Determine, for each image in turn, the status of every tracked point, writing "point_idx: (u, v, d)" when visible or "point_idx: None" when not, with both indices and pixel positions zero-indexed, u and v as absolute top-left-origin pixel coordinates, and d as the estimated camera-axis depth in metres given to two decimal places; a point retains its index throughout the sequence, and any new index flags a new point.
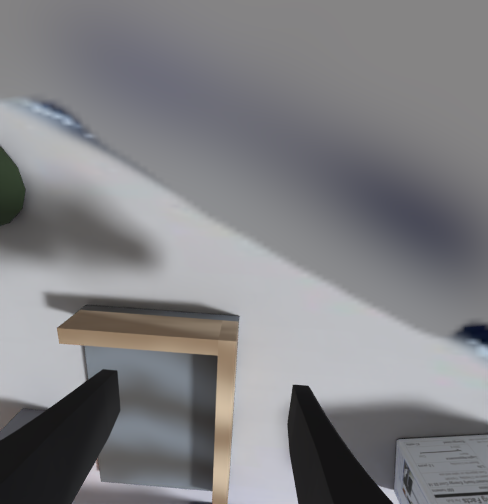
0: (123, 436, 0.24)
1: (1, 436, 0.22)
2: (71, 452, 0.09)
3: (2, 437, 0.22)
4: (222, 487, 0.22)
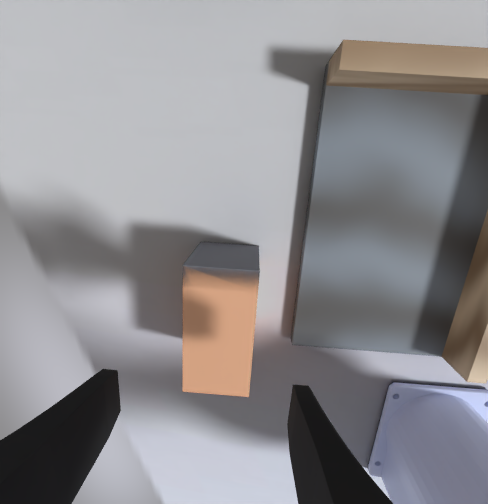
0: (339, 272, 0.18)
1: (200, 253, 0.17)
2: (71, 452, 0.09)
3: (202, 253, 0.16)
4: None
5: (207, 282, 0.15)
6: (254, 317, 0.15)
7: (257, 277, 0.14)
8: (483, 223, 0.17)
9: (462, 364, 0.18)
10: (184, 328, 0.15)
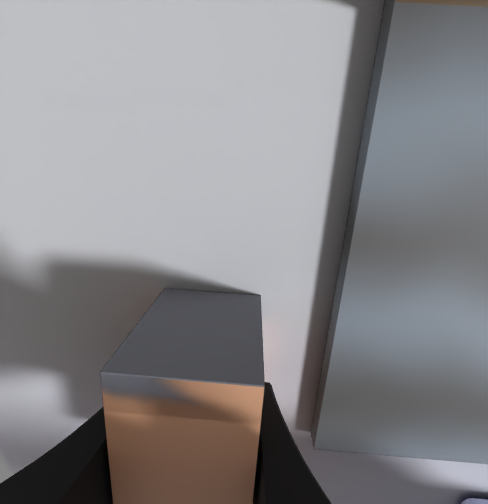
0: (398, 343, 0.11)
1: (153, 322, 0.09)
2: None
3: (157, 324, 0.09)
4: None
5: (154, 404, 0.07)
6: (253, 468, 0.07)
7: (259, 397, 0.07)
8: None
9: None
10: (114, 482, 0.08)
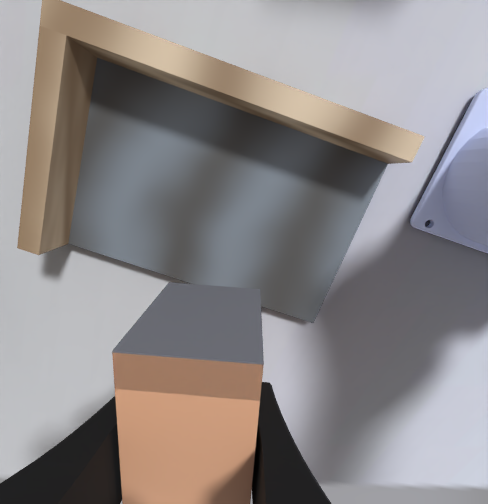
0: (243, 262, 0.18)
1: (159, 311, 0.10)
2: None
3: (163, 312, 0.09)
4: (332, 113, 0.13)
5: (162, 382, 0.07)
6: (253, 444, 0.08)
7: (259, 374, 0.07)
8: (222, 104, 0.15)
9: (390, 157, 0.14)
10: (123, 459, 0.08)
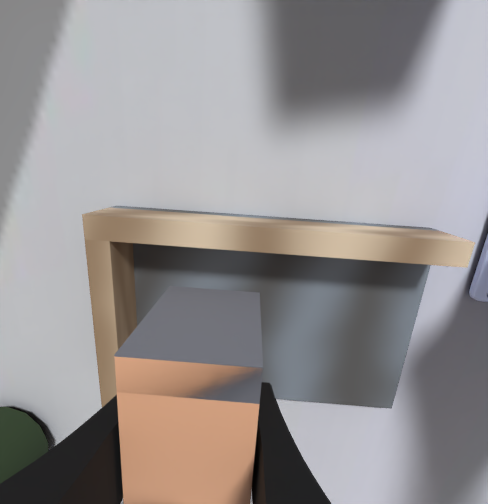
0: (308, 369, 0.18)
1: (160, 315, 0.10)
2: (119, 456, 0.09)
3: (163, 316, 0.10)
4: (374, 245, 0.13)
5: (162, 385, 0.08)
6: (253, 446, 0.08)
7: (258, 378, 0.07)
8: None
9: None
10: (124, 461, 0.08)
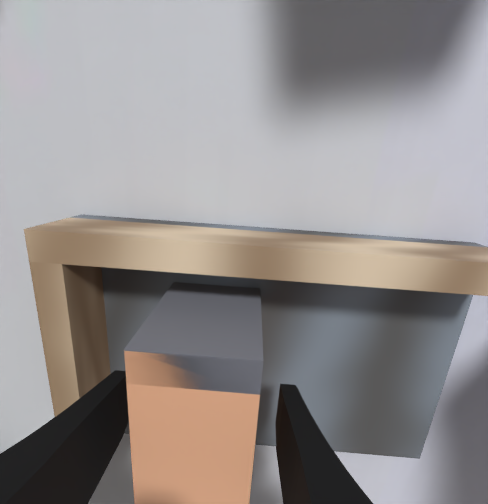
0: (319, 413, 0.14)
1: (165, 310, 0.10)
2: (87, 454, 0.09)
3: (169, 312, 0.10)
4: (413, 270, 0.10)
5: (169, 378, 0.08)
6: (254, 434, 0.09)
7: (259, 371, 0.08)
8: None
9: None
10: (134, 447, 0.09)
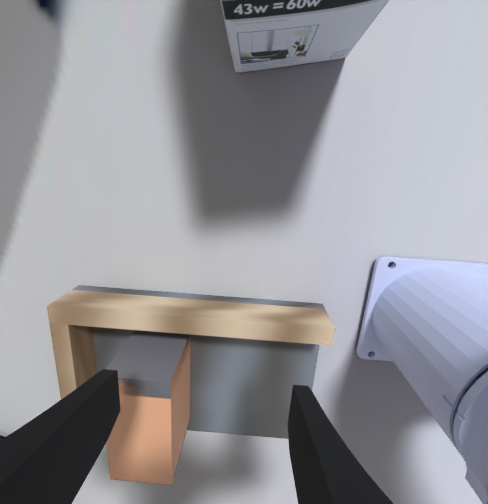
0: (235, 409, 0.22)
1: (127, 350, 0.18)
2: (71, 452, 0.09)
3: (128, 351, 0.18)
4: (262, 329, 0.17)
5: (124, 390, 0.16)
6: (169, 419, 0.16)
7: (169, 386, 0.16)
8: None
9: None
10: None
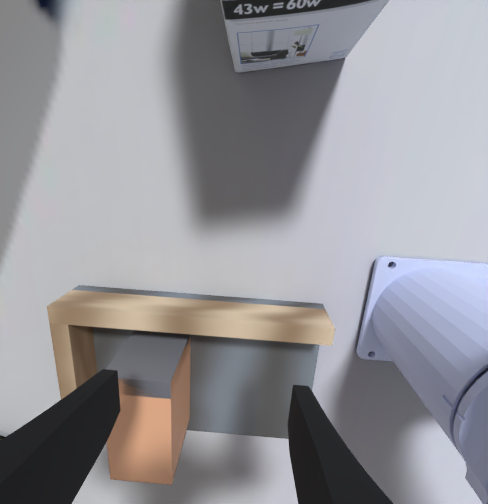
0: (235, 409, 0.22)
1: (127, 350, 0.18)
2: (71, 452, 0.09)
3: (128, 351, 0.18)
4: (262, 329, 0.17)
5: (124, 390, 0.16)
6: (169, 419, 0.16)
7: (169, 386, 0.16)
8: None
9: None
10: None
